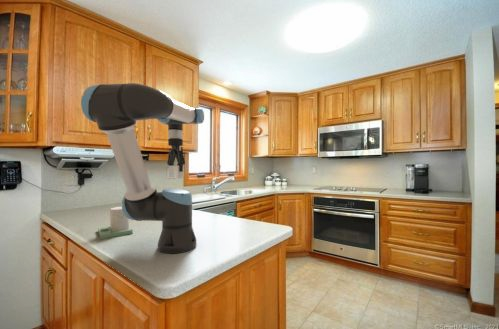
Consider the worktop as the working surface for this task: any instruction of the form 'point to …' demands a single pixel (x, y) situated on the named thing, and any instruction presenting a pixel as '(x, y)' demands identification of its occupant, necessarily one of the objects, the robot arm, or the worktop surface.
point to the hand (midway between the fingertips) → (175, 177)
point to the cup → (118, 220)
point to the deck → (106, 233)
